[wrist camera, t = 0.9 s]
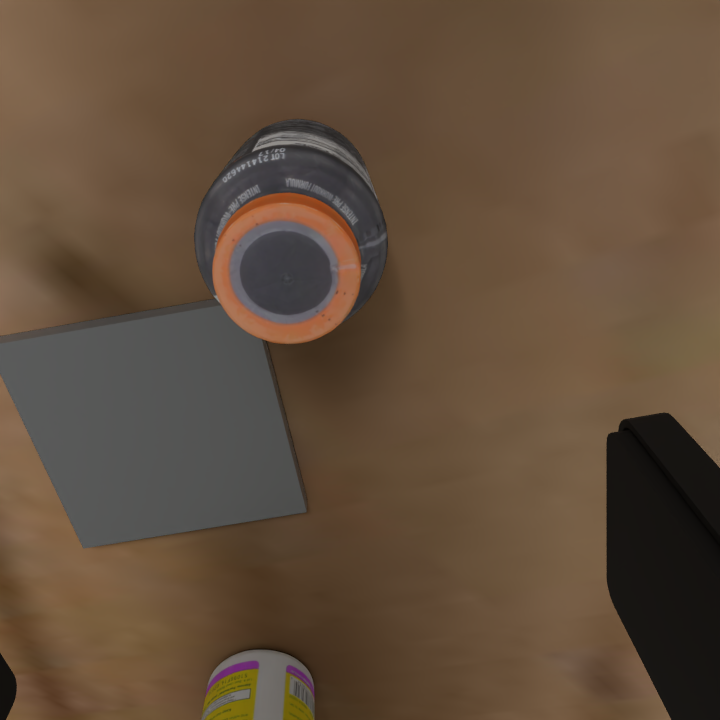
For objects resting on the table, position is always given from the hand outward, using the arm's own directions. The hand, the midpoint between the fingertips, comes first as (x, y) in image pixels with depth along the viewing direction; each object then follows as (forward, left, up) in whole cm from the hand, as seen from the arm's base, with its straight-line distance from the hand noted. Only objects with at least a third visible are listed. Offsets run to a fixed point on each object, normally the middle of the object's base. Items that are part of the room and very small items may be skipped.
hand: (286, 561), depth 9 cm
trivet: (+9, -9, -21) cm, 24 cm away
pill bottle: (-1, 0, -21) cm, 21 cm away
